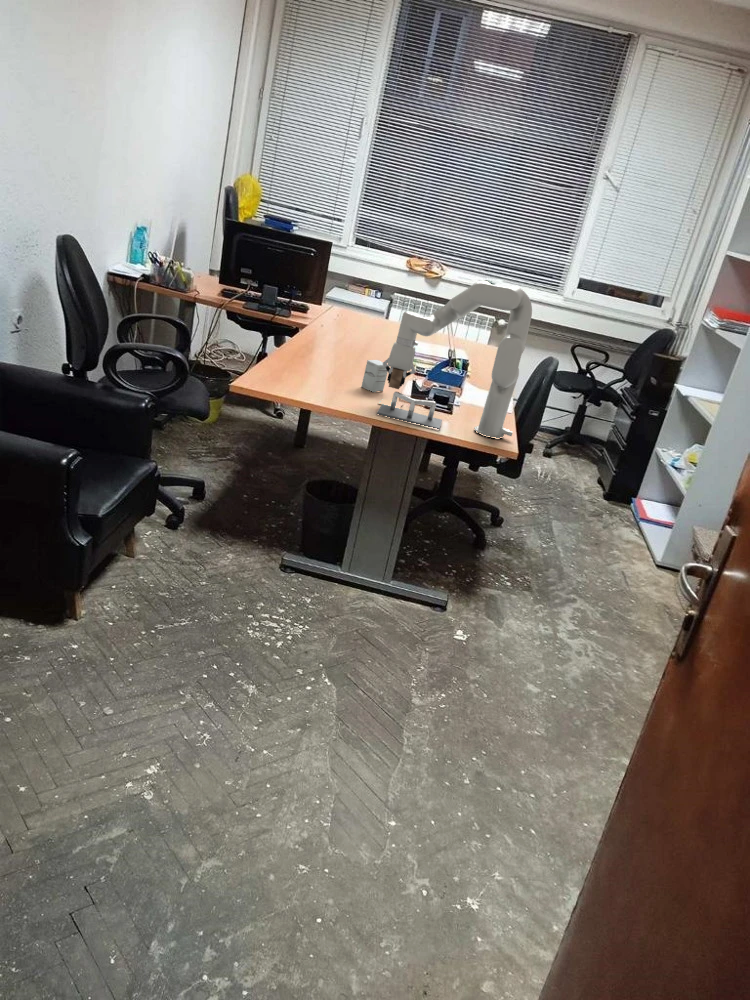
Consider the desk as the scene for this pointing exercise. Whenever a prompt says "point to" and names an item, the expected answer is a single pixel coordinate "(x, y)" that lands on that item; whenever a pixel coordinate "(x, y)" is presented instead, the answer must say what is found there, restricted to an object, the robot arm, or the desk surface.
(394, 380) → the walnut block
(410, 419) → the base
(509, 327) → the robot arm
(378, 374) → the supplement box
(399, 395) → the grey bridge stand
